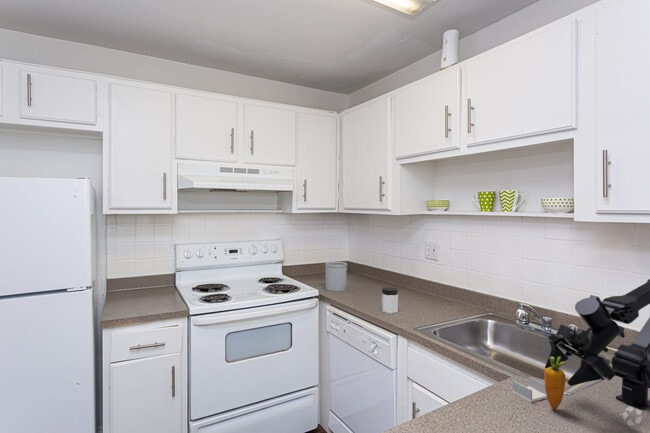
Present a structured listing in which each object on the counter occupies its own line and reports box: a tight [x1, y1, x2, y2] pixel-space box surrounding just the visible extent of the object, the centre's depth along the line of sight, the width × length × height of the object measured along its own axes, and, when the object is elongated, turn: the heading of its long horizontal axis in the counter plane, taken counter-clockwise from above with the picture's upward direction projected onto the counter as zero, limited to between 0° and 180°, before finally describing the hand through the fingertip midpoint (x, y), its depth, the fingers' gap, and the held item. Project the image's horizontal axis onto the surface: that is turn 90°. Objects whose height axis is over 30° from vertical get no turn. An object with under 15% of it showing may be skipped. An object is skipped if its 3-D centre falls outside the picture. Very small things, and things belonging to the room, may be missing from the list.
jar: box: [381, 286, 399, 314], centre depth 195 cm, size 9×8×12 cm
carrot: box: [543, 357, 566, 411], centre depth 100 cm, size 5×5×15 cm
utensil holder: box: [324, 261, 348, 292], centre depth 246 cm, size 15×15×18 cm
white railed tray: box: [512, 376, 548, 403], centre depth 108 cm, size 7×6×4 cm
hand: (556, 376), depth 100 cm, fingers open, 9 cm apart
